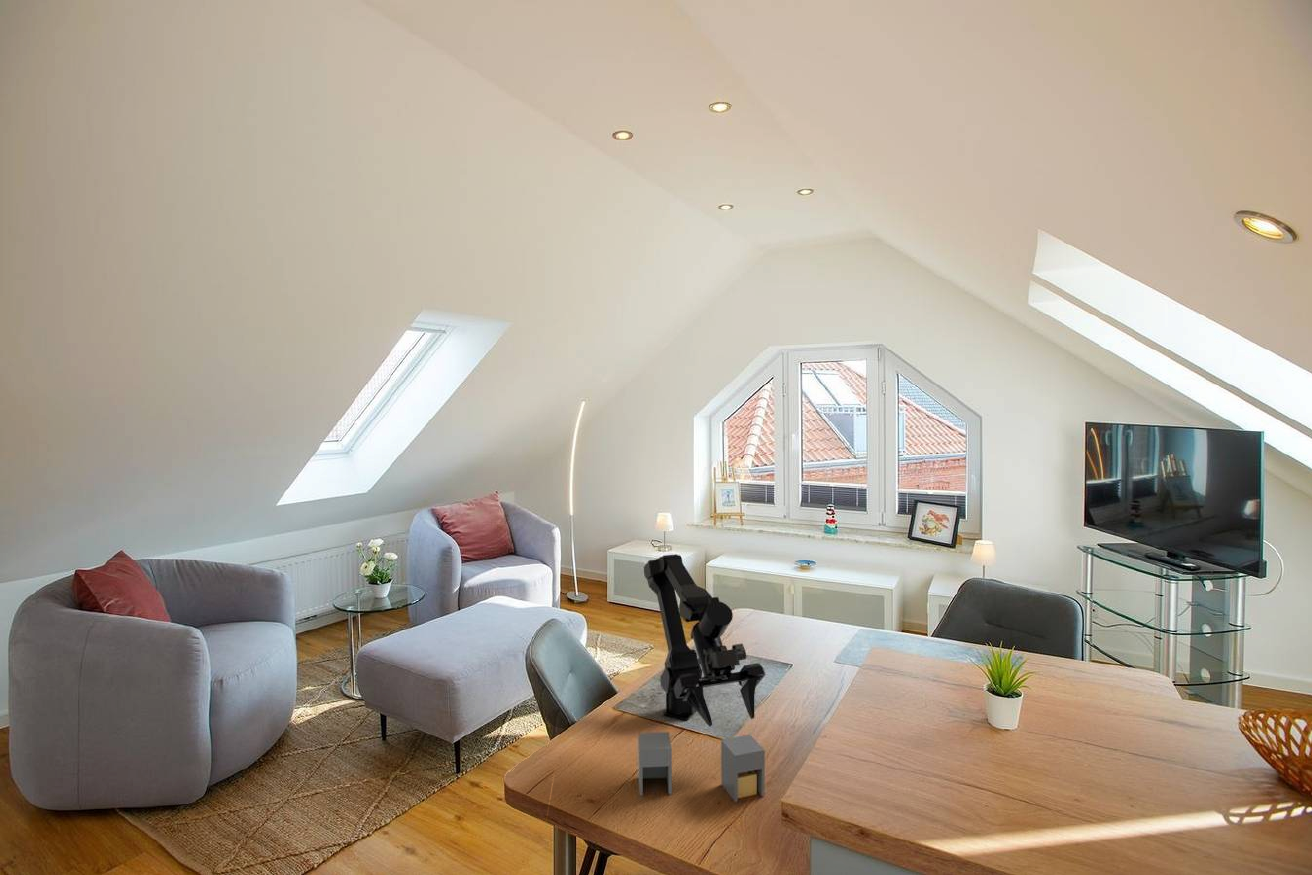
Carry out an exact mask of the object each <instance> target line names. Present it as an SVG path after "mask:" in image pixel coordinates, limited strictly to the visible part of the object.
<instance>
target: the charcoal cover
mask: <svg viewBox="0 0 1312 875" xmlns="http://www.w3.org/2000/svg"><path fill="white" fill-rule="evenodd" d="M720 751H721V752H720V753H721V754H720V755H721V756H720V757H721V758H720V759H721V760H720V761H721V763H720V764H721V766H720V768H721V769H720V771H721V772H720V773H721V774H720V775H721V776H720V777H721V778H720V779H721V780H720V782H721V783H720V784H721V786H722V787H723V789H724V790H725V791H726V793H727V794H728V796H730V798H731V800H732V801H733V802H734V804H735V803H739V798H738V773H743V772H747V771H752V770H753V771H754V772H755V773H756V774H757V794H759V795H760V796H761V797H765V794H766V793H765V790H766V788H765V787H766V786H765V785H766V784H765V783H766V782H765V781H766V779H765V777H766V775H765V772H766V770H765V768H766V767H765V764H766V763H765V762H766V761H765V758H766V757H765V756H766V754H765V748H763V747H762V746H761V744H760V743H759V742H758V741H757V740H756V739H755V738H754V737H753V736H752V735H751V734H745V735H740V736H735V737H733V736H732V737H729V738H724V739H723V738H722V739H721V740H720Z"/></svg>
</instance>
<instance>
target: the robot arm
mask: <svg viewBox="0 0 1312 875" xmlns="http://www.w3.org/2000/svg"><path fill="white" fill-rule="evenodd" d="M643 574H644V579H646V580H647V581H646V582H647V584H648V588H650V590H652V592H653V593H654V594H655V595H656V597H657V603H658V608H659V611H660V616H661V617H660V618H661V621H662V626H663V631H664V635H665V641H666V646H667V649H668V652H667V655H666V659H665V662H664V670H663V671H662V673H661V675H660V677H659V678H660V680H659V681H660V686H661V689H662V690H664V692H665V695H666V696H665V700H666V701H665V710H664V711H663V712H662V715H663V716H666V717H671V718H674V719H678V720H683V721H688V720H689V719H691V717H692V716H693V715H694V714H695V713H696V712H697V713H698V714H699V716H700V717H701V718H702V720H703V721H704V722H705V723H706V724H707V726H708V727H709V728H711V727H712V726H713V721H712V718H711V713H710V711H709V710H710V709H709V707H708V704H707V701H706V699H705V694H704V688H708V687H713V686H720V685H727V684H734V683H735V684H736V683H738V685H739V686H740V687H741V688H740V689H739V691H740V694H741V697H742V700H743V703H744V705H745V708H746V711H747V713H748V716H749V718H750V719H751V720H753V719H754V718H755V695H756V688H757V686H758V685H759V683H760V682H761V681H763V679H764V678H765V676H766V675H767V674H766V672H765V669H764V666H763V665H761V664H760V663H759V662H757V663H750V664H744V665H743V666H742V667H741V669H740V670H739V671H735V672H732V671H734V670H735V669H736V666H740V665H741V663H740V661H744V660H746V659H747V652H746V649H745V646H744V644H743V643H737V644H733V645H732V646H731V649H728V648H727V646H726V645H724V644H723V642H722V639H721V637H722V636H723V635H724V633H725V632H726V630H727V629H728V627H729V626H730V624H731V622H732V621H733V618H734V617H733V616H734V614H733V610H732V609H731V608H730V607H729V606H728V605H727V604H726V603H725V602H723V601H720V599H719V597H718V596H715V597H714V596H712V595H711V594H710V593H709V591H708V590H707V589H705V588H702V587H701V586H698V585H697V584H696V582H695V580H694V579H693V577H692V576H691V574H690V573H689V571H688V569H687V567H686V566H685V565H684V563H683V557H682V556H681V555H680V554H679V555H678V554H667V555H663V556H660V557H659V558H655V559H648V561H647V563H645V564H644V566H643ZM677 596H678V598H679V603H678V599H677ZM682 619H683V621H684V622H685V623H694V622H696V623H694V625H693V627H692V629H691V630H690V638H691V639H692V640H693V642H694V647H695V649H696V650H695V649H691V648H690V646H688V644H687V640H686V635H685V630H684V626H683V621H682Z"/></svg>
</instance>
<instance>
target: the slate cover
mask: <svg viewBox="0 0 1312 875" xmlns="http://www.w3.org/2000/svg"><path fill="white" fill-rule="evenodd" d="M672 749H673V748H672V742H671V737H670V732H669V731H664V732H663V731H661V732H660V731H659V732H643V733H641V732H638V733H637V752H638V753H637V760H638V761H637V763H638V764H637V765H638V766H637V768H638V770H637V771H638V772H637V774H638V776H637V778H638V790H639V791H638V792H639V794H638V795H639V796H640V797H641V796H643V795H644V793H643V790H644V789H643V788H644V787H643V784H644V783H643V781H644V780H643V779H663V778H664V779H665V778H666V783H667V784H666V785H667V790H668V792H667V793H668V795H673V781H672V780H673V776H672V775H673V770H672V768H673V766H672V765H673V761H672V760H673V758H672V757H673V756H672V755H673V751H672Z"/></svg>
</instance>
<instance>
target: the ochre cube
mask: <svg viewBox="0 0 1312 875" xmlns="http://www.w3.org/2000/svg"><path fill="white" fill-rule="evenodd" d="M757 794H758V792H757V774H756V773H755V772H754V771H753V770H752V771H747V772H743V773H738V799H741V798H746V797H750V796H754V795H757Z"/></svg>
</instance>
